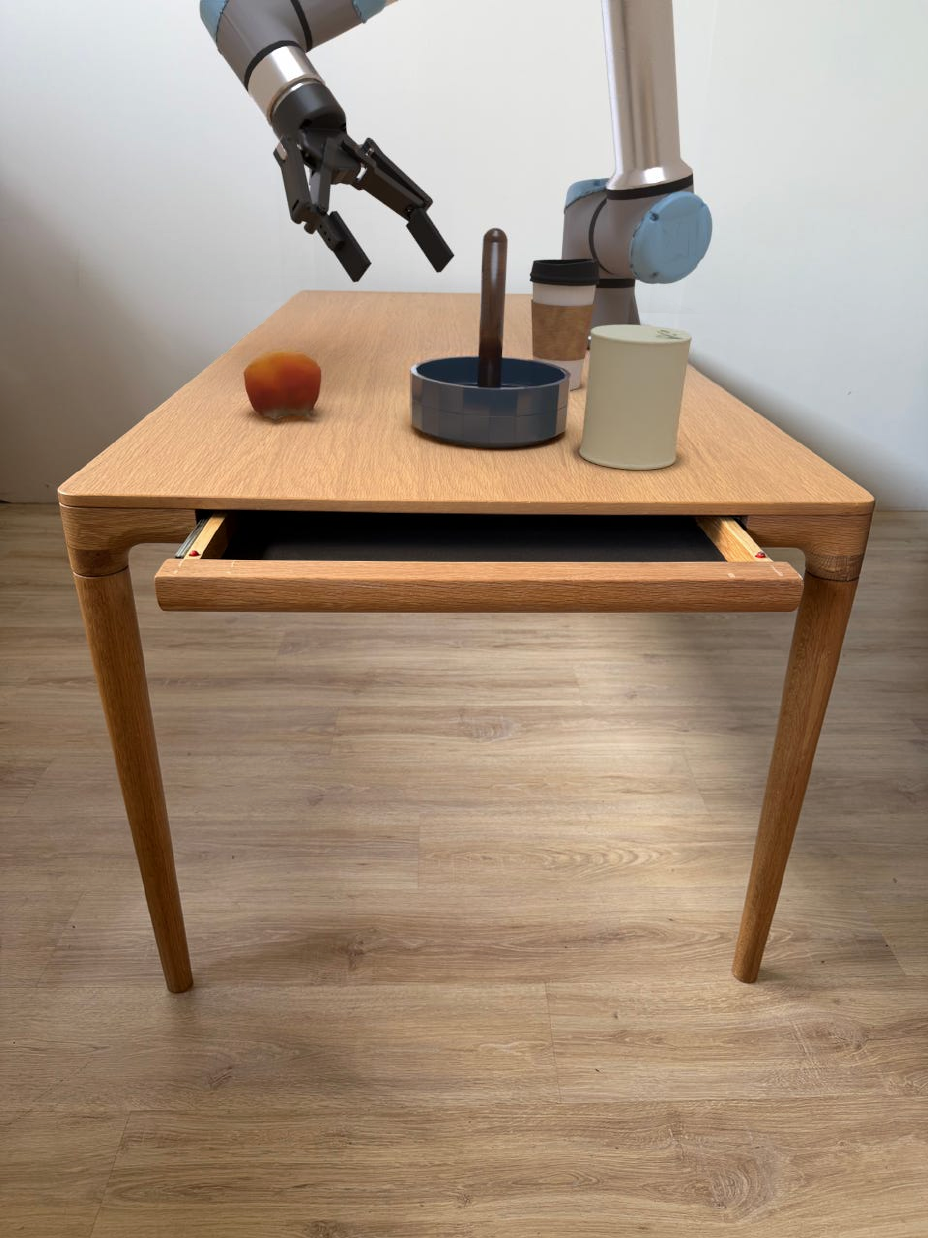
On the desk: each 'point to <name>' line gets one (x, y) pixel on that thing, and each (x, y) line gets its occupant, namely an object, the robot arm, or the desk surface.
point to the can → (634, 396)
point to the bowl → (489, 402)
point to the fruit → (283, 383)
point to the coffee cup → (563, 312)
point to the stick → (492, 308)
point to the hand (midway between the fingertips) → (406, 268)
